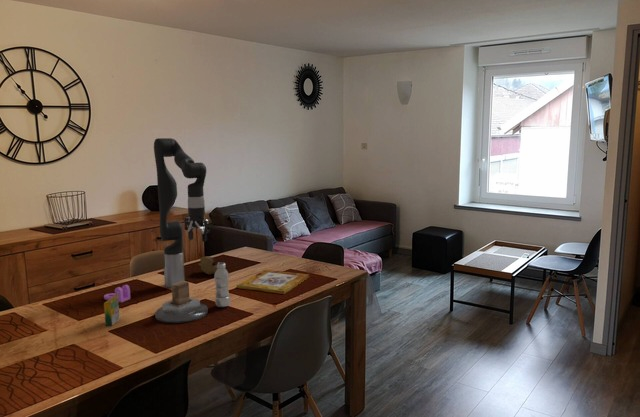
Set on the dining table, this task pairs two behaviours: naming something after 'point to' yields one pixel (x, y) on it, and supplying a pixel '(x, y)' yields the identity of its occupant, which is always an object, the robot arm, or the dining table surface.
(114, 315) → the crayon box
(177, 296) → the tan rectangular block
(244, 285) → the picture frame
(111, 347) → the dining table surface
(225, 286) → the plastic bottle
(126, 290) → the bracket
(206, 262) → the wooden carving
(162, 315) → the grey round socket base
